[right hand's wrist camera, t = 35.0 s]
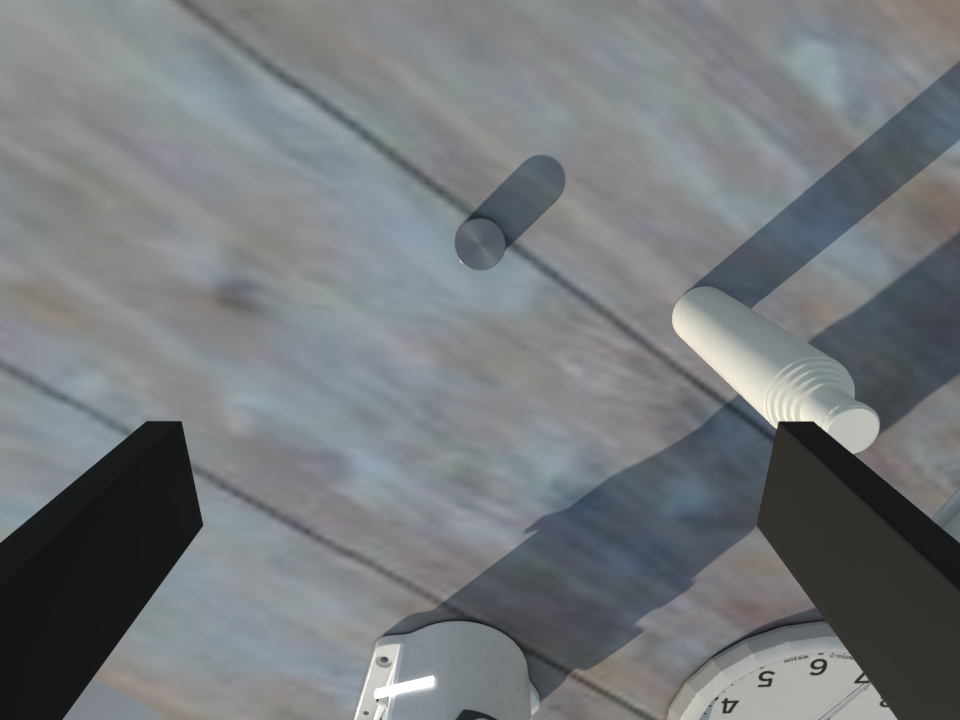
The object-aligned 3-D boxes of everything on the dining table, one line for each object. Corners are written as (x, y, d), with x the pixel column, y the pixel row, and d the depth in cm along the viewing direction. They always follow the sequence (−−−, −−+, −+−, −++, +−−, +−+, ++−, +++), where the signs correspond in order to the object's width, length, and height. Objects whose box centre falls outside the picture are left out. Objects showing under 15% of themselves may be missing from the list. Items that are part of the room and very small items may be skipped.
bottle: (730, 339, 47) (897, 469, 28) (671, 345, 47) (799, 479, 28) (732, 282, 45) (911, 380, 26) (671, 289, 45) (806, 392, 27)
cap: (480, 205, 43) (480, 207, 41) (514, 241, 44) (516, 245, 42) (445, 240, 44) (443, 243, 42) (479, 275, 45) (479, 280, 43)
